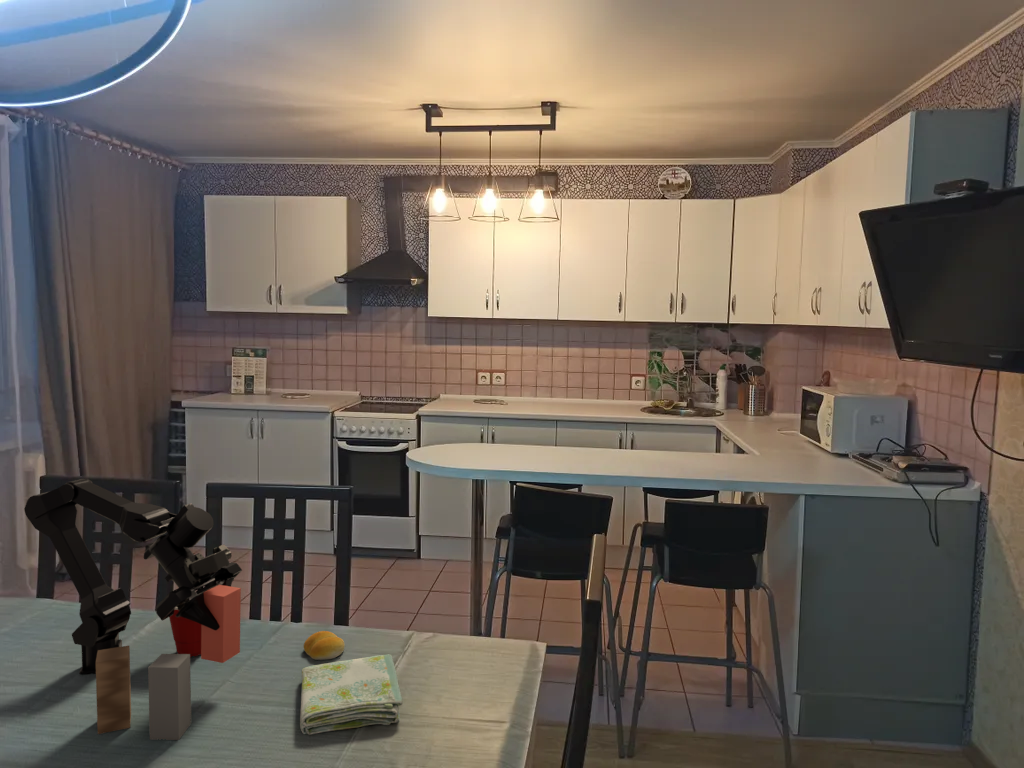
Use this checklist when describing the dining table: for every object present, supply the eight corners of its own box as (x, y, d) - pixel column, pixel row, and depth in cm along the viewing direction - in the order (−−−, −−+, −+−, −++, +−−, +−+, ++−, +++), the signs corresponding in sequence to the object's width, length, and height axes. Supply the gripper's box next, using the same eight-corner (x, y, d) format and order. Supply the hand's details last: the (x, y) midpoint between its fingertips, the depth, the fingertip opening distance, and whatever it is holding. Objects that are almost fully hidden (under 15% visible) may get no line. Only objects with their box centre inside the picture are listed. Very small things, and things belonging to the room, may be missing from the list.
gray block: (149, 739, 124) (148, 667, 123) (163, 723, 129) (161, 653, 128) (178, 740, 124) (177, 667, 123) (191, 723, 129) (190, 654, 128)
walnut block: (97, 734, 125) (95, 662, 124) (99, 719, 130) (97, 650, 129) (130, 727, 128) (128, 657, 126) (131, 713, 132) (129, 645, 131)
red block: (201, 658, 139) (201, 593, 138) (218, 648, 144) (219, 584, 143) (222, 663, 138) (223, 596, 137) (239, 652, 143) (240, 588, 142)
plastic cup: (214, 636, 164) (213, 585, 163) (222, 655, 155) (222, 601, 154) (161, 646, 159) (160, 593, 158) (167, 667, 150) (166, 611, 149)
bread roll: (317, 665, 152) (317, 647, 152) (298, 650, 159) (298, 633, 159) (352, 654, 158) (352, 636, 158) (332, 640, 165) (332, 623, 164)
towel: (298, 740, 126) (298, 712, 125) (301, 681, 146) (301, 657, 146) (403, 728, 130) (403, 701, 130) (392, 672, 151) (392, 648, 150)
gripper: (167, 550, 131) (220, 617, 129) (233, 523, 149) (280, 582, 147) (133, 587, 134) (183, 653, 132) (202, 556, 152) (247, 614, 150)
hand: (227, 623), depth 140 cm, fingers closed on red block, 5 cm apart
